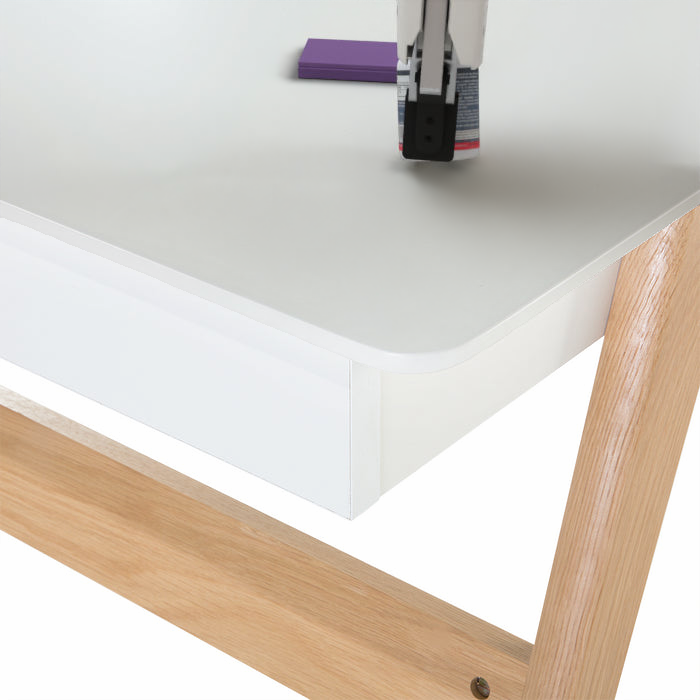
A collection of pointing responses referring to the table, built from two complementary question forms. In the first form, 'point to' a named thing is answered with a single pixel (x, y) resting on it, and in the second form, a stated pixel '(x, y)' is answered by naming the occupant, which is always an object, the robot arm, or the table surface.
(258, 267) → the table surface
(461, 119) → the pill bottle
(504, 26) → the table surface
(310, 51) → the purple box
